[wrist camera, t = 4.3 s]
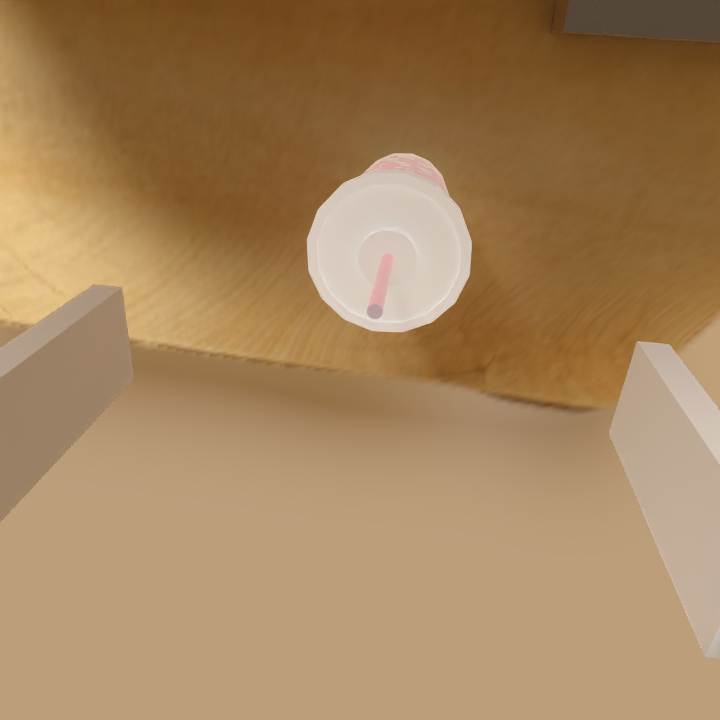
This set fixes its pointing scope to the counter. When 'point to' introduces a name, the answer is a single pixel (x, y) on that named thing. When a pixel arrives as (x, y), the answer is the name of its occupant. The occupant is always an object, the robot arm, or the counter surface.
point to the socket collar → (640, 19)
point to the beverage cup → (390, 246)
